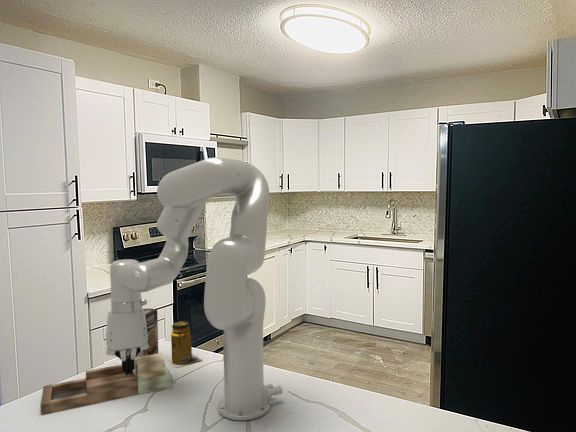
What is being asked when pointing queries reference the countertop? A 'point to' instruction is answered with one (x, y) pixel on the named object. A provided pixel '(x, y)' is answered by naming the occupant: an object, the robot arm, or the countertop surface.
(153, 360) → the birch block
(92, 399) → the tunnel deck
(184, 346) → the condiment
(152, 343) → the coffee box
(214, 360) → the countertop surface
